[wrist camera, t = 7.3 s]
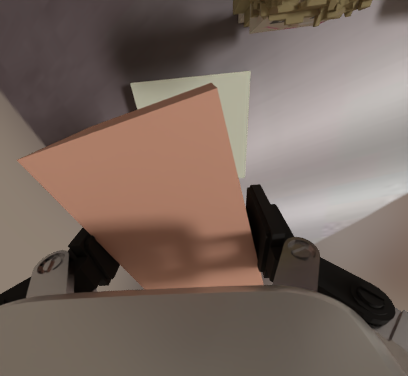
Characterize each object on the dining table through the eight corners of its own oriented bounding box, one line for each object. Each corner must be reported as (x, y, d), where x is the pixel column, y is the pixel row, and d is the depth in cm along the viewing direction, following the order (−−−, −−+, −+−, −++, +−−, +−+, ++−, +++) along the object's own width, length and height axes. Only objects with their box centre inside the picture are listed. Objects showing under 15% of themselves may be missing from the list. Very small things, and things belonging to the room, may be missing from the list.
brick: (90, 126, 10) (16, 160, 6) (211, 82, 8) (217, 87, 5) (174, 254, 16) (165, 310, 12) (250, 239, 15) (266, 295, 11)
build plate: (135, 82, 22) (130, 83, 20) (246, 71, 21) (250, 70, 19) (160, 177, 29) (157, 184, 28) (242, 171, 29) (244, 177, 27)
